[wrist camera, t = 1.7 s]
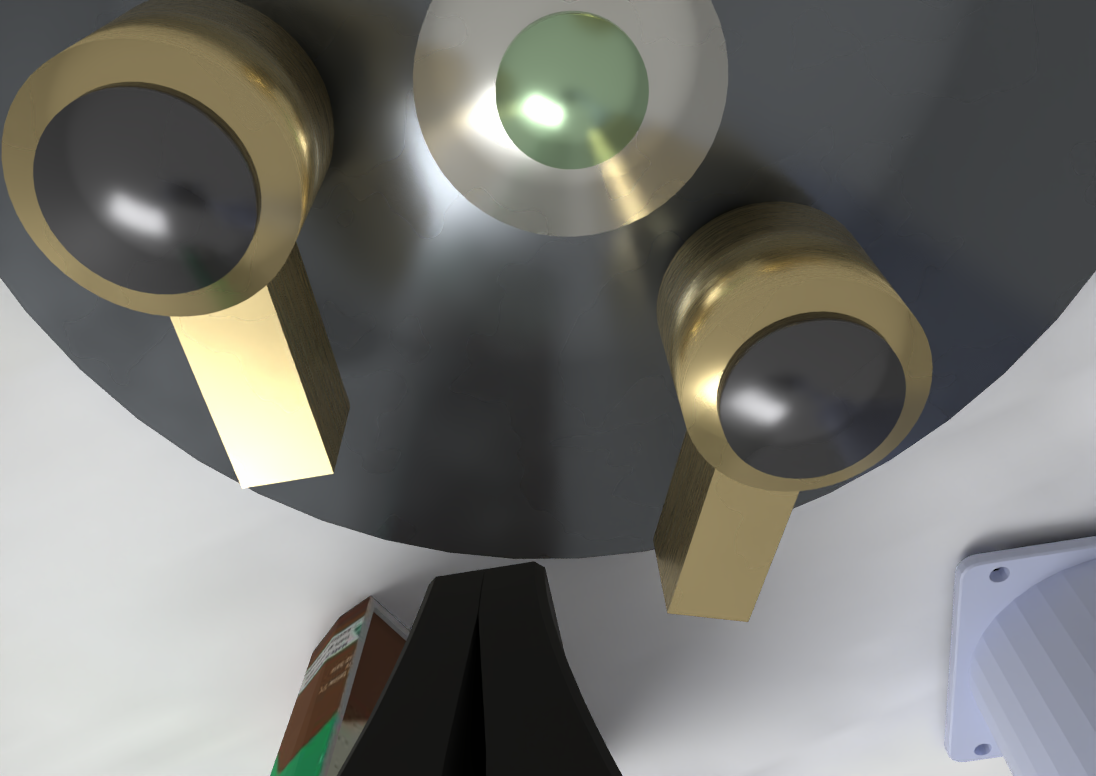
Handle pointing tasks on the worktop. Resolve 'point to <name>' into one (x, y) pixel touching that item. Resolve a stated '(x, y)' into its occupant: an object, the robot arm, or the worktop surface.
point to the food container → (340, 690)
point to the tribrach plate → (575, 317)
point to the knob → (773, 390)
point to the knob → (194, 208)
